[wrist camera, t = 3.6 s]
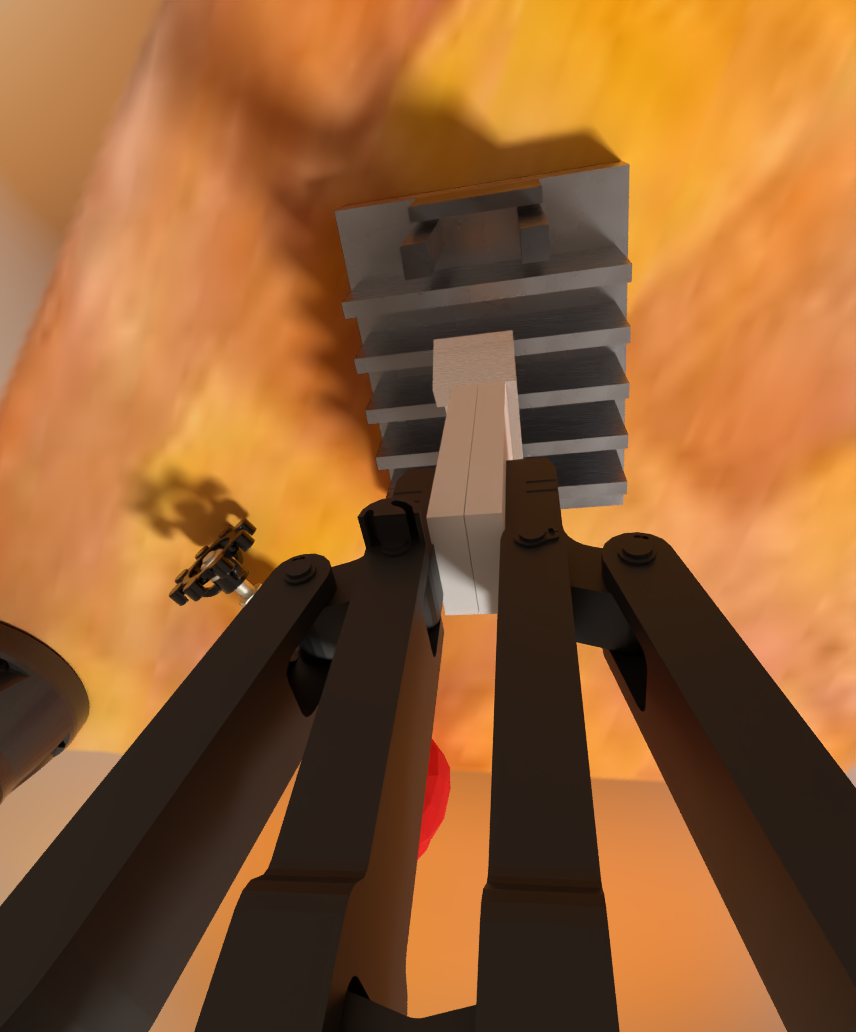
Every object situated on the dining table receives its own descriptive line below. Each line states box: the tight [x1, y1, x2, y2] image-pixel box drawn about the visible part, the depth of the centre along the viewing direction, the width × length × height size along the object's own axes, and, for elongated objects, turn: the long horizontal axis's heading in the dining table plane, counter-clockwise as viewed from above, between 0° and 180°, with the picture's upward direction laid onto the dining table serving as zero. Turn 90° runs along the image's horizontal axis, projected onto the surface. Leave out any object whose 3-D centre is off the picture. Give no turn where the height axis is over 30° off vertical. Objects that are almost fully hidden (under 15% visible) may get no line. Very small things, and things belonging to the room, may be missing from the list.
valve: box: [169, 518, 262, 608], centre depth 41 cm, size 7×7×12 cm
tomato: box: [417, 739, 450, 860], centre depth 48 cm, size 12×12×10 cm
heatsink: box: [334, 161, 632, 509], centre depth 30 cm, size 18×13×8 cm
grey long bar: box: [433, 330, 523, 460], centre depth 25 cm, size 16×3×2 cm, turn 8°
